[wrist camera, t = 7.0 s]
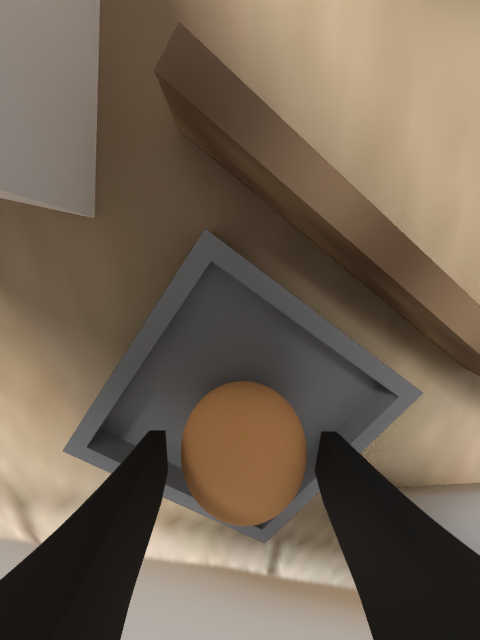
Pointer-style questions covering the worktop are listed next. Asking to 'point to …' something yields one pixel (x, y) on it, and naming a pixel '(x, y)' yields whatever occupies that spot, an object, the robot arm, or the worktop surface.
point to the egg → (243, 453)
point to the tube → (451, 509)
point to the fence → (313, 195)
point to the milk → (49, 103)
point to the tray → (237, 372)
